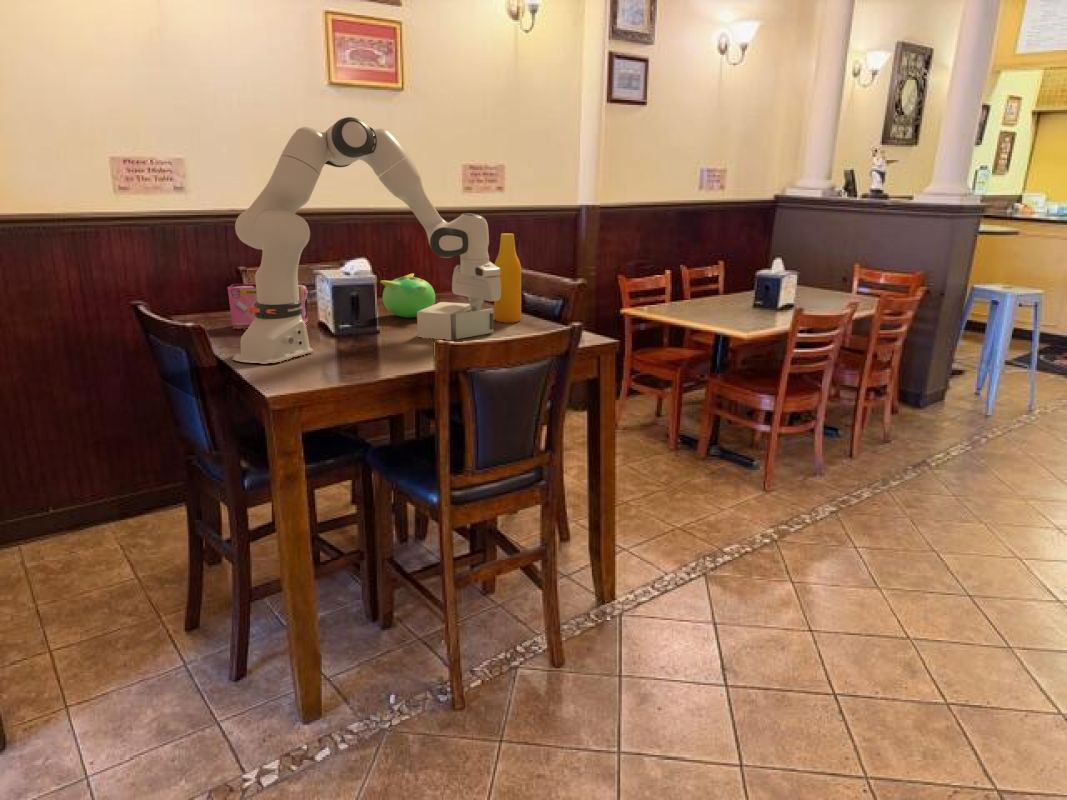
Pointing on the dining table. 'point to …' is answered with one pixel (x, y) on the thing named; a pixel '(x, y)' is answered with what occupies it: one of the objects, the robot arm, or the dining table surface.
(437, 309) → the cabinet housing
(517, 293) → the beer bottle
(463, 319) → the side door
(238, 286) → the gum box
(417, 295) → the green horned ball
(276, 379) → the dining table surface
